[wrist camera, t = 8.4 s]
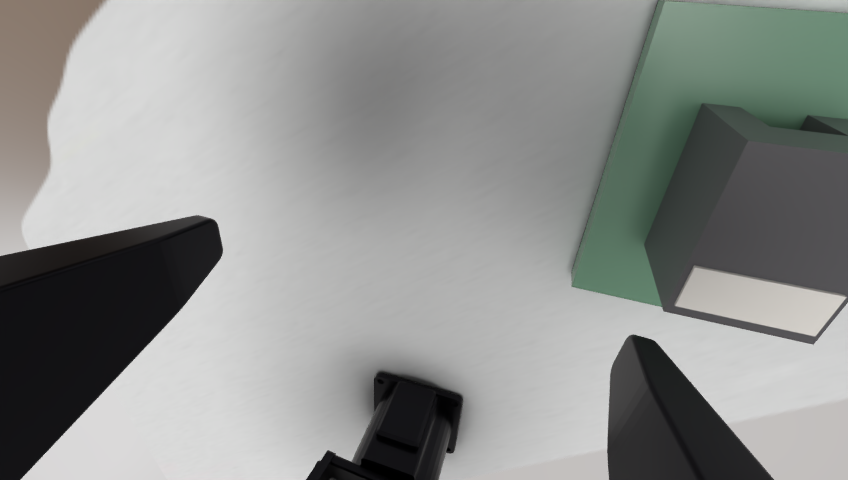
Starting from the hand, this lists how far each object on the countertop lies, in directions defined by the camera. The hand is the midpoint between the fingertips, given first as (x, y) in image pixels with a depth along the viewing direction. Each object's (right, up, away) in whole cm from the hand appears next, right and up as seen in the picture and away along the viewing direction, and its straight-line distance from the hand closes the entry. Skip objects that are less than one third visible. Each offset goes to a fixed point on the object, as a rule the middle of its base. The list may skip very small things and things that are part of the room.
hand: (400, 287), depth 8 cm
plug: (+12, +3, +7) cm, 14 cm away
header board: (+13, +3, +8) cm, 15 cm away
